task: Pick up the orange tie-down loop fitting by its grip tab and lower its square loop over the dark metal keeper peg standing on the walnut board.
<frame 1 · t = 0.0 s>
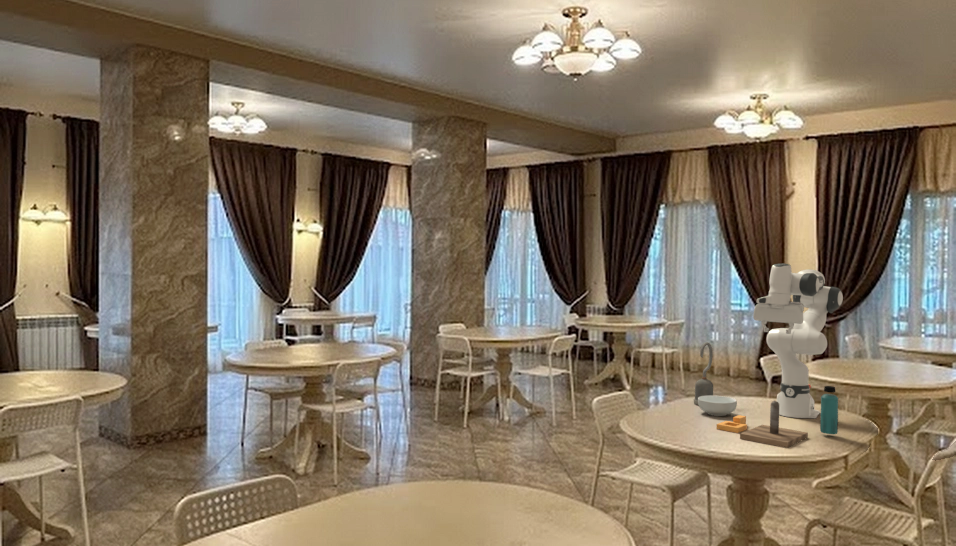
hand: (777, 332, 308), 39 cm above the table, tool pointing down, fingers open, 8 cm apart
keeper board: (774, 438, 282), on the table
cereal bowl: (716, 414, 324), on the table
beverage bottle: (828, 436, 287), on the table
loop fitting: (731, 429, 296), on the table
hook: (704, 404, 346), on the table
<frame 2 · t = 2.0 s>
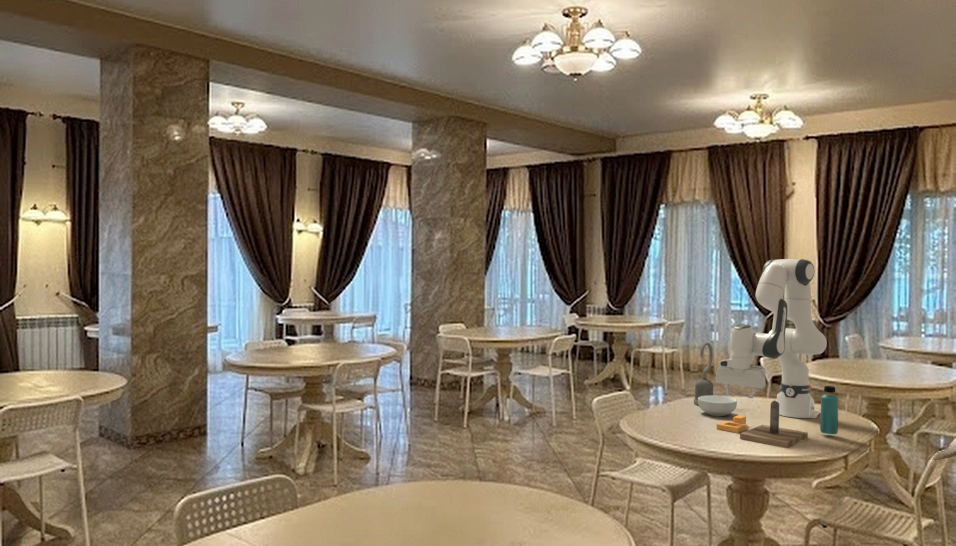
hand: (739, 396, 301), 13 cm above the table, tool pointing down, fingers open, 8 cm apart
nothing on the table moved.
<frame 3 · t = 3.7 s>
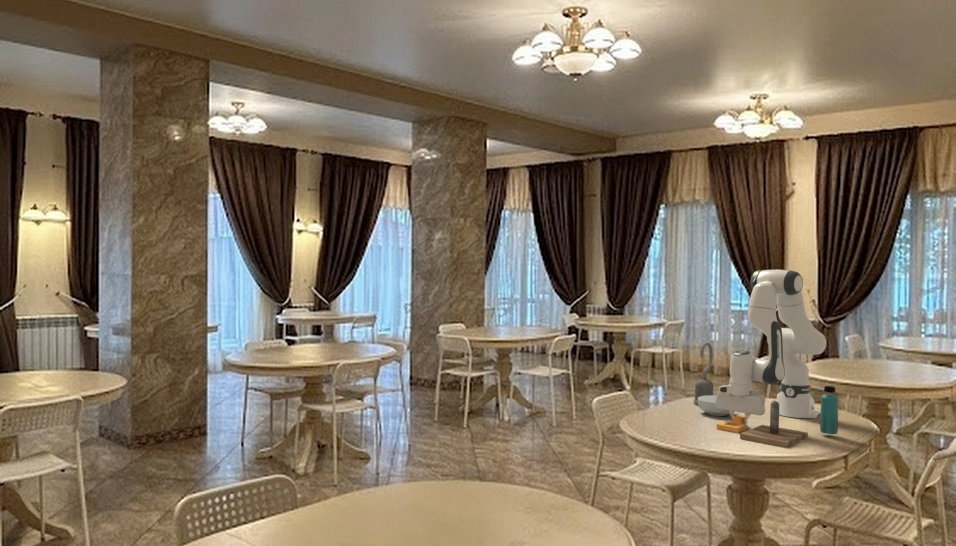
hand: (739, 422, 301), 2 cm above the table, tool pointing down, fingers closed on loop fitting, 3 cm apart
loop fitting: (731, 429, 296), on the table, touching gripper
everything else where it was.
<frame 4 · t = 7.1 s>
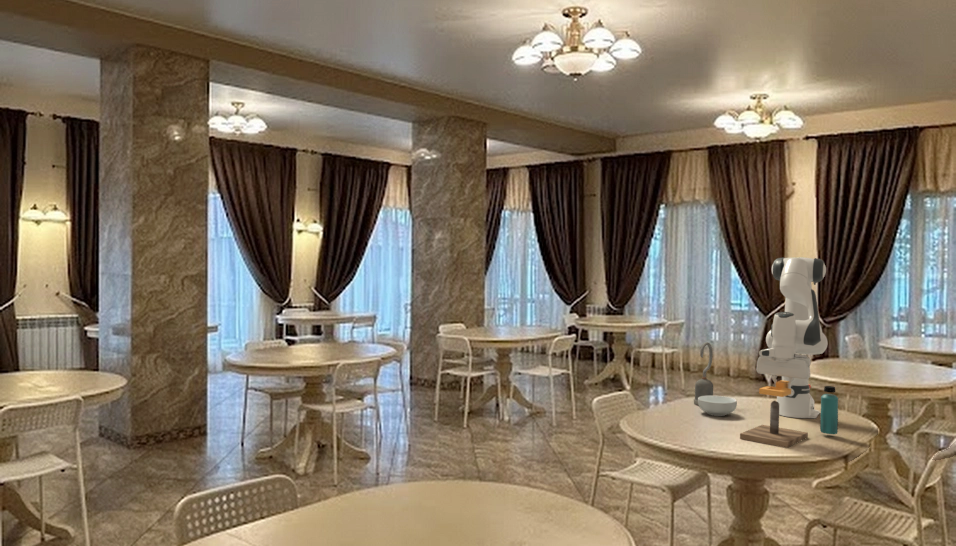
hand: (782, 387, 287), 19 cm above the table, tool pointing down, fingers closed on loop fitting, 3 cm apart
loop fitting: (775, 393, 282), point 18 cm above the table, touching gripper
everything else where it was.
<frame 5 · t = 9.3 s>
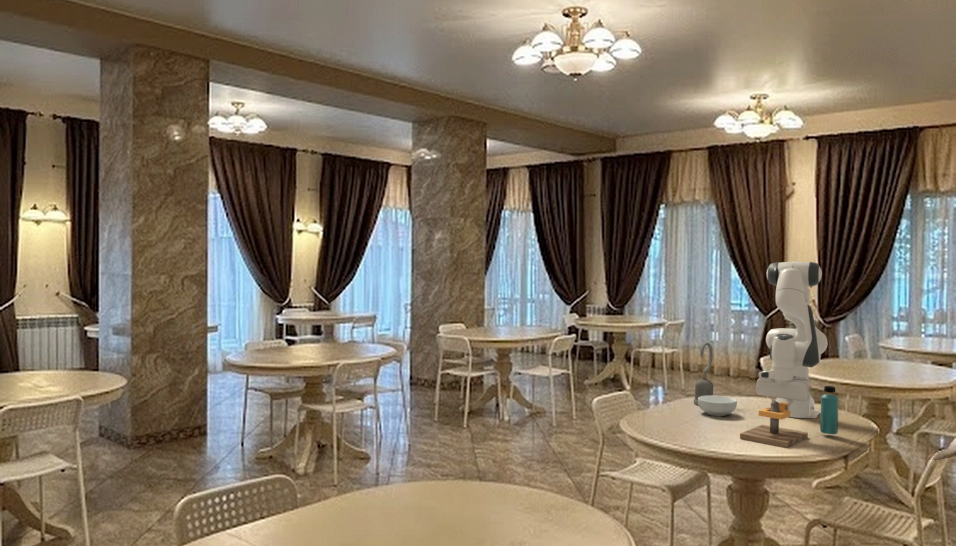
hand: (781, 409, 287), 10 cm above the table, tool pointing down, fingers closed on loop fitting, 3 cm apart
loop fitting: (774, 415, 282), point 9 cm above the table, touching gripper
everything else where it was.
when the fingers open (5 cm above the table, at t = 10.9 s): loop fitting drops 1 cm, resting on keeper board.
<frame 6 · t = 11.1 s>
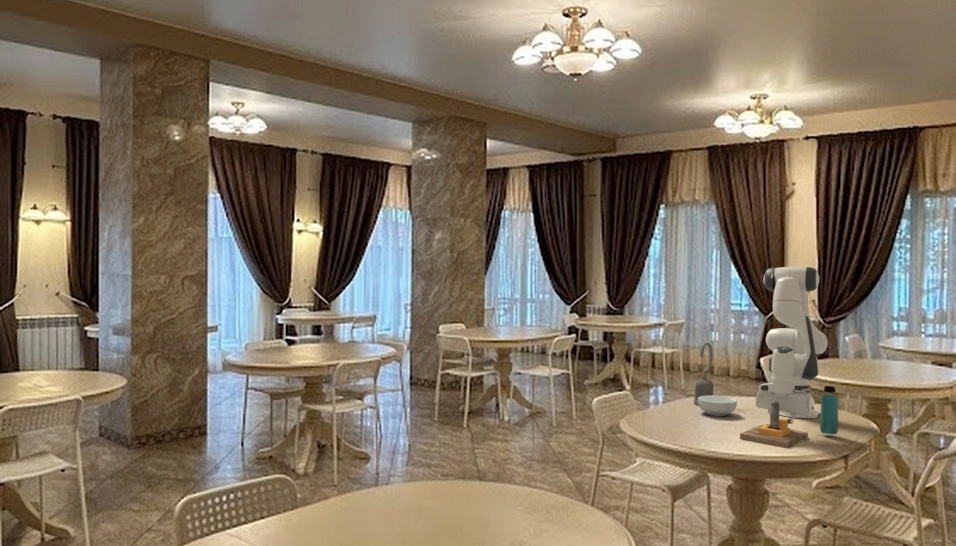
hand: (781, 422, 288), 5 cm above the table, tool pointing down, fingers open, 5 cm apart
loop fitting: (774, 433, 282), point 2 cm above the table, touching keeper board
everything else where it was.
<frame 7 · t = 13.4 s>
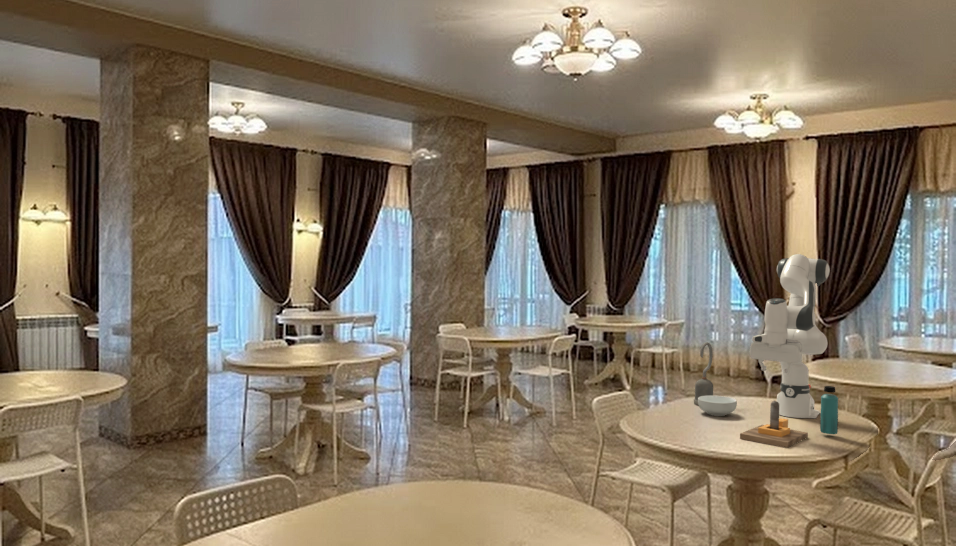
hand: (775, 371, 295), 24 cm above the table, tool pointing down, fingers open, 8 cm apart
nothing on the table moved.
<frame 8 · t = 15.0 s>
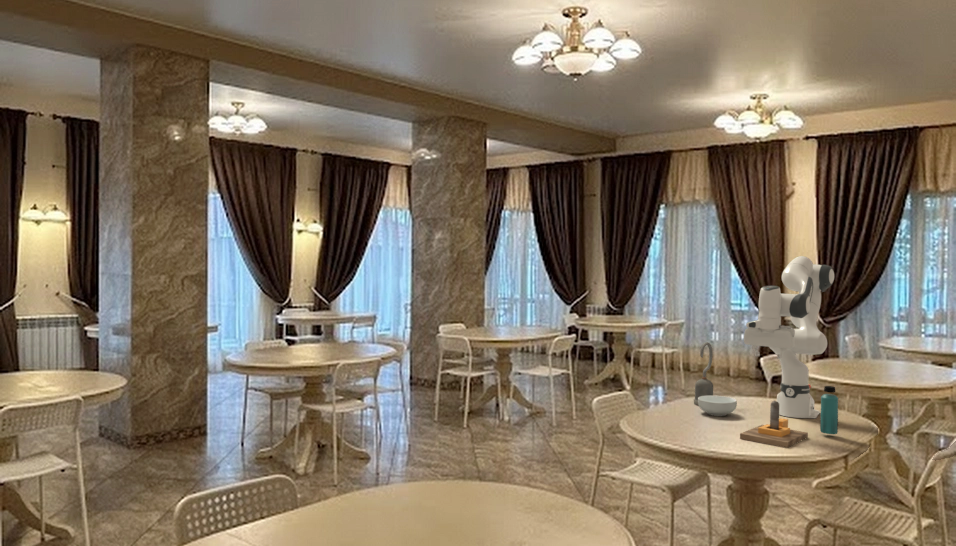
hand: (768, 357, 301), 29 cm above the table, tool pointing down, fingers open, 8 cm apart
nothing on the table moved.
at the end: loop fitting 0.1 cm off-centre on the keeper board, point 2.0 cm above the keeper board's base; the gripper is holding nothing; loop fitting tilted 0° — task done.
